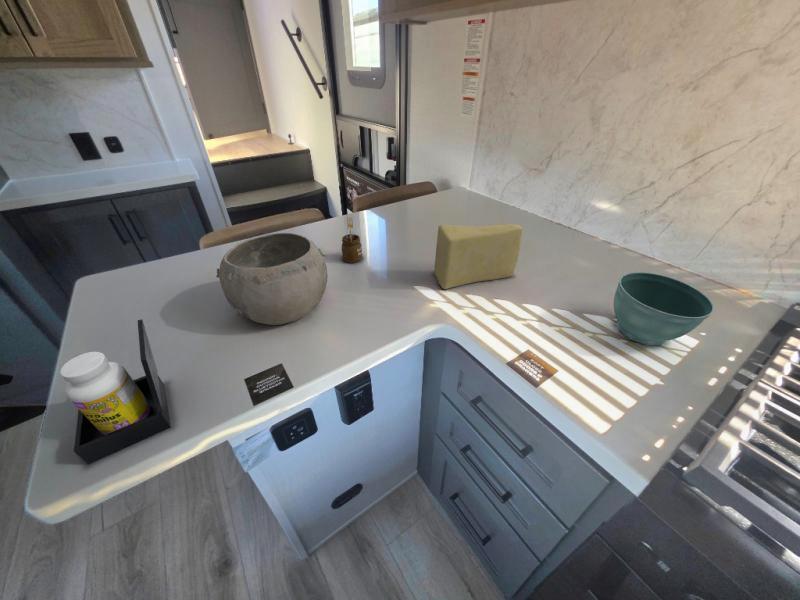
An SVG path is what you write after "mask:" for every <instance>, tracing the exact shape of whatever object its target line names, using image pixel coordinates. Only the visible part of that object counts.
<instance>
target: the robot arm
mask: <svg viewBox="0 0 800 600" xmlns="http://www.w3.org/2000/svg"><path fill="white" fill-rule="evenodd" d="M13 379H14V375H13V374H10V373H5V372H1V371H0V386H6V385H9V384H11V383H12V381H13ZM47 407H48V406H47V405H46V404H44V403H31V402H6V401H5V402H4V401H3V402H2V401H0V433H2V432H5V431H7V430H9V429H11V428H13V427H16V426H19V425H20V424H23V423H26V422H28V421H30V420H32V419H35V418H37V417H40V416H42V415H43V414H44V413H45V412H46V409H47Z"/></svg>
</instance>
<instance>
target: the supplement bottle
mask: <svg viewBox="0 0 800 600" xmlns="http://www.w3.org/2000/svg"><path fill="white" fill-rule="evenodd" d="M59 375H60V376H61V377H62V378H63V379H64V381H65V382H67V383H66V386H65V395H66V397H67V398H68V400H70V401H71V402H72V404H73V405H74V406H75V407H76V408H77V409H79V410H80V411H81V412H82V413H83V414H84V415H85V416H86V417H87V418H88V420H89V421H90V422H91V423H92V424H93V425H94V426H95V427H96V428H97V429H98V430H99V431H100V432H101V433H102V434H103V435H107V434H109V433H111V432H114V431H116V430H118V429H121V428H123V427H126V426H128V425H130V424H133V423H135V422H137V421H140V420H142V419H144V418H147V417H148V415H149V413H150V409H151V407H150V404H149V402H148V400H147V399H146V398H145V396H144V395H143V393H142V392H141V390H140V389H139V388H138V386H137V385H136V384H135V382H134V381H133V380H134V379H133V378H132V376H131V375H130V374H129V373H128V371H127V370H126V368H125V367H124V365H122V364H120V363H118V362H115V361H109V359H108V358H107V357H106V355H105V354H104V353H102V352H100V351H89V352H85V353H82V354H79V355H77V356H75V357H73V358H71V359H70V360H68V361H66V363H64V365H62V366H61V369H60V371H59Z"/></svg>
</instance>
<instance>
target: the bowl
mask: <svg viewBox="0 0 800 600" xmlns="http://www.w3.org/2000/svg"><path fill="white" fill-rule="evenodd" d="M325 256H326V255H325V253H324V252H323V250H322V248H321V247H320V248H319V247H318V246H317V245H316V244H315V242H314V241H312V240H311V239H310V238H308V237H306V236H303V235H300V234H296V233H291V232H278V233H270V234H269V233H268V234H265V235H261V236H260V235H259V236H256V237H253V238H252V237H251V238H249V239H246V240H243V241H241V242H239V243H237V244H236V245H234V246H233V247H232V248H230V249H229V250H227V251H226V253H225V254H224V255H223V257H222V259H221V261H220V264H219V268H216V276H215V277H216V278H218V279H219V283H220V287H221V289H222V292H223V294H224V297H225V299H226V300H227V302H228V304H229V305H230V307H232V308H233V310H235V311H236V314H237V316H238V318H240V320H244V319H245V318H246V319H249V320H251V321H253V322H255V323H259V324H263V325H267V326H280V325H284V324H289V323H290V324H291V323H293V322H296V321H299V320H301V319H303V318H304V317H306V316H308V315H309V314H311V313H312V312H313V311H314V310H315V309H316V308H317V307H318V305H319V304H320V302H321V300H322V298H323V297H324V294H325V292H326V288H327V284H328V278H329V277H328V276H329V275H328V267H327V263H326V261H325V258H324V257H325Z"/></svg>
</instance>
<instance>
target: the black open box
mask: <svg viewBox="0 0 800 600" xmlns="http://www.w3.org/2000/svg"><path fill="white" fill-rule="evenodd" d="M158 380H159V387H160V395H161V403H162V410H163V412H160V413H158V412H157V409H156V406H155V403H154V400H153V397H152V393H151V390H150V387H149V384H148V381H147V378H146V375H143V376H140V377H138V378H135V379H133V381H134V382H135V384H136V385H137V386H138V388H139V389H140V390H141V392H142V393H143V395H144V396H145V398H146V399H147V400H148V402H149V404H150V407H151V409H150V413H149V415H148V417H147V418H144V419H142V420H140V421H137V422H135V423H133V424H130V425H128V426H126V427H123V428H121V429H118V430H116V431H114V432H111V433H109V434H107V435H103V434H102V433H101V432H100V431H99V430H98V429H97V428H96V427H95V426H94V425H93V424H92V423H91V422H90V421H89V420H88V418H87V417H86V416H85V415H84V414H83V413H82V412H81V411H80V410H79V409H78V408H77V409H78V412H77V418H76V428H75V437H74V445H73V447H74V448H73V452H74V453H75V454H76V456H78V457H79V458H80V459H81V460H82V461H83V462H85V463H86V464H87V465H88V466H89V465H91V464H93V463H95V462H97V461H100V460H102V459H105V458H106V457H108V456H110V455H113V454H115V453H117V452H120V451H122V450H124V449H126V448H129V447H131V446H133V445H135V444H138V443H140V442H142V441H144V440H146V439H148V438H150V437H153V436H155V435H157V434H159V433H162V432H164V431H166V430H169V429H170V428H171V420H170V419H171V418H170V414H169V413H170V411H169V407H168V399H167V393H166V387H165V386H166V385H165V384H164V382H163V380H162V379H161V377H160V375H158Z"/></svg>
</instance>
